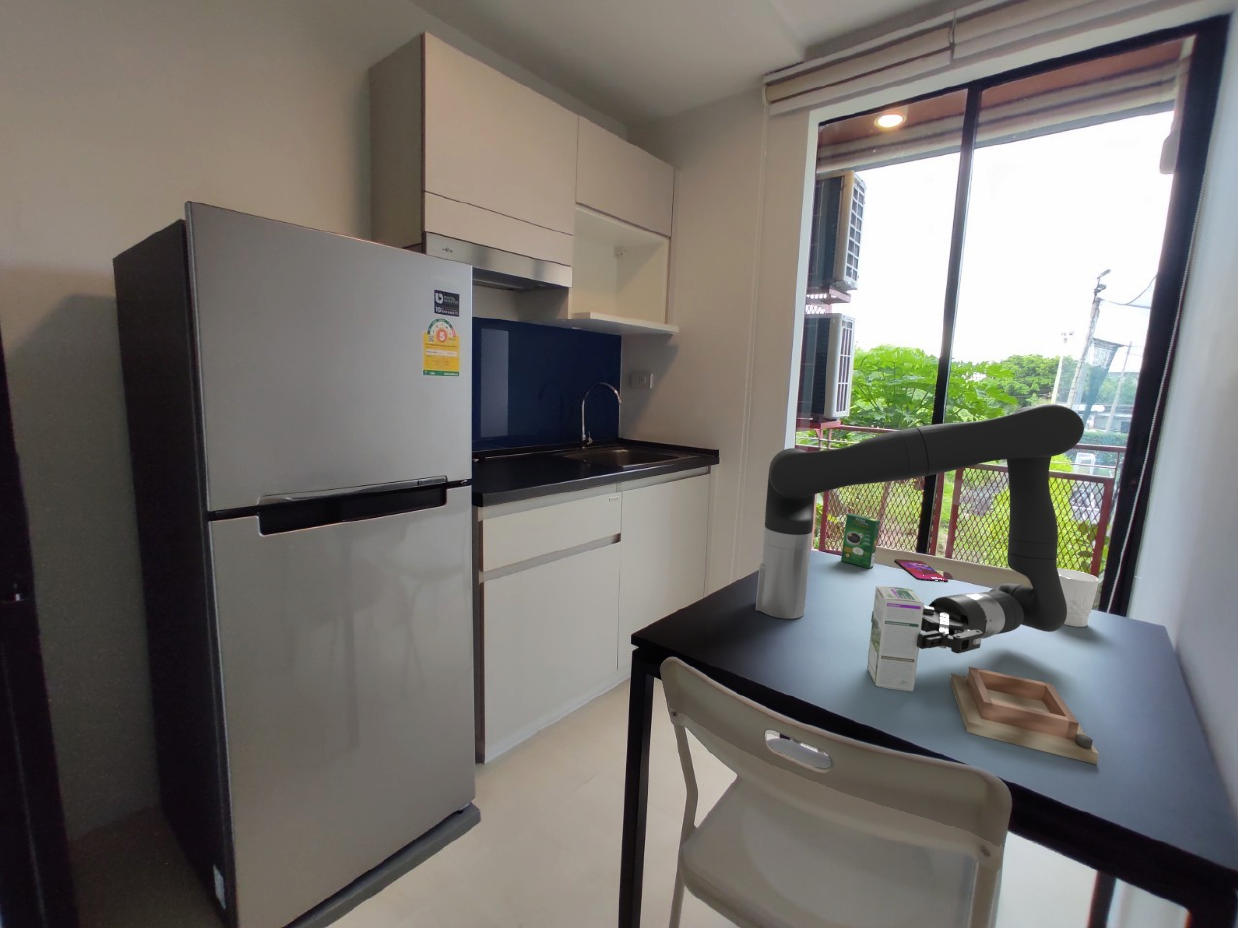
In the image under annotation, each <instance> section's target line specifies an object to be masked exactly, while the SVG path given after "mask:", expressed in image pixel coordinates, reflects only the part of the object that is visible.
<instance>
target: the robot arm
mask: <svg viewBox="0 0 1238 928" xmlns="http://www.w3.org/2000/svg"><path fill="white" fill-rule="evenodd" d="M1084 432H1085V424H1084V422H1083V419H1082V418H1081V416H1080V415H1079V413H1077V412H1076V411H1075V410H1073V409H1071V408H1069V407H1067V406H1065V405H1062V404H1057V403H1040V404H1035V405H1028V406H1024V407H1021V408H1019V409H1016V410H1015V411H1013V412H1011V413H1010V414H1006V415H1002V416H999V417H995V418H989V419H983V420H977V421H963V422H949V423H947V422H946V423H937V424H929V425H928V424H927V425H922V426H915V427H909V428H904V429H898V430H894V431H889V432H886V433H882V434H878V435H876V436H873V437H870V438H867V439H864V440H862V441H861V440H860V441H858V442H856V443H853V444H851V445H847V446H844V447H839V448H833V449H825V450H816V451H813V450H812V451H805V450H803V449H801V448H796V447H793V448H792V447H790V448H789V447H788V448H786V449H782V450H781V451H779V452H778V453H777V454H775V455H774V456H773V458H772V459H771V461H770V465H769V468H768V479H767V490H766V502H765V514H764V528H763V529H764V530H763V540H762V541H763V542H762V553H761V560H760V561H761V562H760V564H759V567H758V577H757V578H758V579H757V589H756V601H755V611H758V612H762V613H763V614H765V615H768V616H771V617H774V618H779V619H785V620H787V619H788V620H789V619H790V620H793V619H799V618H801V617H803V616H804V614H805V607H806V597H807V588H808V586H807V585H808V578H809V570H810V569H809V568H810V557H811V549H812V548H811V547H812V538H813V537H812V536H813V527H814V502H815V495H818V494H821V493H825V492H829V491H831V490H835V489H836V490H837V489H841V488H846V487H850V486H857V485H858V486H859V485H867V484H868V485H870V484H879V483H888V482H895V481H896V482H897V481H904V480H911V479H917V478H923V477H929V476H933V475H938V474H943V473H949V472H953V471H956V470H957V471H958V470H961V469H965V468H969V467H973V466H977V465H981V464H984V463H985V464H986V463H989V462H994V461H995V462H996V461H1003V460H1006V465H1007V475H1008V476H1007V477H1008V478H1007V479H1008V493H1009V520H1008V521H1009V523H1008V524H1009V525H1008V539H1007V540H1008V543H1007V555H1006V557H1007V566H1008V567H1009V569H1010V570H1012V571H1014V572H1016V573H1019V574H1021V575H1023V576H1024V577H1026V578H1027V579H1028V580H1029V582H1030V584H1031V586H1028V585H1024V584H1020V583H1015V582H1014V583H1013V582H1003V583H1000V584H998V585H997V586H995V587H993V588H992V589H990V590H989V591H984V592H966V593H960V594H959V593H958V594H952V595H946V596H939V597H937V598H935V599H934V600H932V601H931V602H930V603H929V605H924V607H923V615H922V624H921V631H922V632H921V633H920V634H919V635H918V638H917V647H919V649H921V650H925V649H932V648H941V649H947V648H949V649H951V650H950V651H951V652H952V653H954V654H962V653H967V652H970V651H974V650H976V649H977V650H978V649H980V648H981V646H982V645H981V644H982V640H983V639H987V638H991V637H992V636H995V635H1000V634H1005V633H1010V632H1012V631H1015V630H1017V629H1018V628H1020V626H1021V625H1022V626H1025V627H1027V628H1032V629H1034V630H1038V631H1042V632H1047V633H1050V632H1051V633H1052V632H1056V631H1058V630H1059V629H1061V628H1062V626H1063V625H1065V624H1064V622H1065V620H1066V617H1067V605H1066V600H1065V597H1064V593H1063V590H1062V586H1061V583H1060V578H1059V574H1058V570H1057V568H1058V566H1057V564H1058V563H1057V561H1058V547H1059V545H1058V544H1059V528H1058V526H1059V525H1058V520H1057V516H1056V511H1055V507H1054V504H1053V499H1052V495H1051V489H1050V467H1051V466H1050V465H1051V462H1052V461H1051V460H1052V457H1053V458H1054V457H1056V456H1060V455H1062V454H1065V453H1066V452H1067V453H1068V452H1069V451H1070V450H1072V449H1073V448H1074V447H1075V446H1077V445H1078V443H1079V442H1080V441H1081V439H1082V437H1083V436H1084ZM871 613H872V614H871V619H870V623H872V618H873V610H872V611H871Z"/></svg>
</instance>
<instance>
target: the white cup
mask: <svg viewBox="0 0 1238 928" xmlns="http://www.w3.org/2000/svg"><path fill="white" fill-rule="evenodd" d="M1057 570H1058V574H1059V578H1060V583H1061V586H1062V590H1063V593H1064V597H1065V600H1066V605H1067V617H1066V620H1065V622H1064V624H1063V625H1064V626H1070V627H1076V628H1078V627H1079V628H1082V627H1083V628H1084V627H1087V626H1088V622H1089V618H1090V614H1092V610H1093V609H1092V608H1093V607H1094V603H1095V598H1096V594H1097V590H1098V586H1099V582H1100V578H1098V577H1097V576H1095V575H1092V574H1090V573H1087V572H1083V571H1079V570H1074V569H1069V568H1060V567H1057Z"/></svg>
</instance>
